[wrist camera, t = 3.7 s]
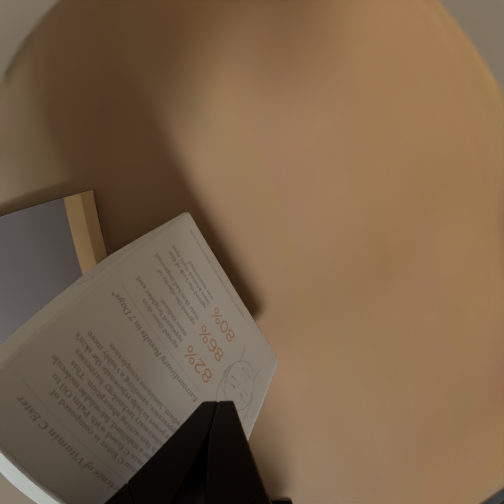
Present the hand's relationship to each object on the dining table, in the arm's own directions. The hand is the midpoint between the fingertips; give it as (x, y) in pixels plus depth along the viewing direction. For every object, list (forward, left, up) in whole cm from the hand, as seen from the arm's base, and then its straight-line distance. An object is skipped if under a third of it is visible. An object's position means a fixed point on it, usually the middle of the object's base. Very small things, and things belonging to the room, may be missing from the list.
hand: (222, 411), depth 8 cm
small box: (0, +2, -7) cm, 7 cm away
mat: (0, +14, -8) cm, 16 cm away
